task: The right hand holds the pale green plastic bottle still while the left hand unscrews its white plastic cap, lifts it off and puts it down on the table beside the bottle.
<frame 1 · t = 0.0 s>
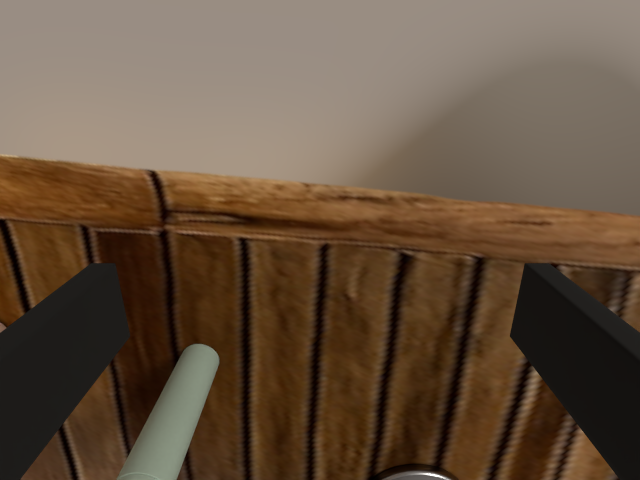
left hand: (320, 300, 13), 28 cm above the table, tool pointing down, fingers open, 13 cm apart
bottle: (200, 359, 48), on the table
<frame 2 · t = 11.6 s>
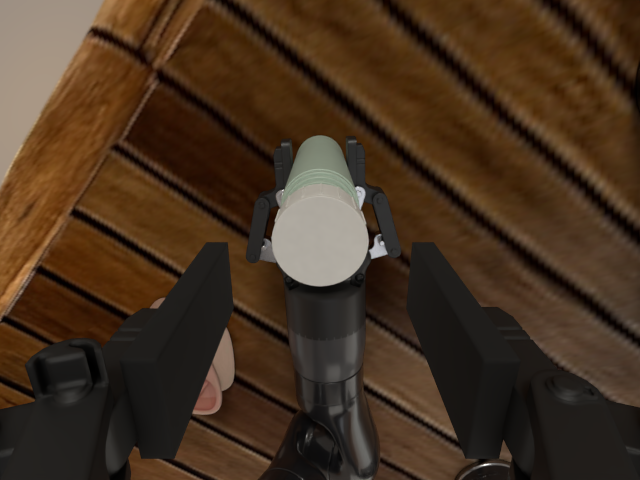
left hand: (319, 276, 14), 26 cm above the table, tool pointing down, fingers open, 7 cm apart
right hand: (318, 139, 32), fingers closed on bottle, 4 cm apart
cap: (320, 241, 18), point 22 cm above the table, screwed on, not yet turned
bottle: (319, 159, 38), on the table, touching right hand
anatomical model: (188, 347, 46), on the table
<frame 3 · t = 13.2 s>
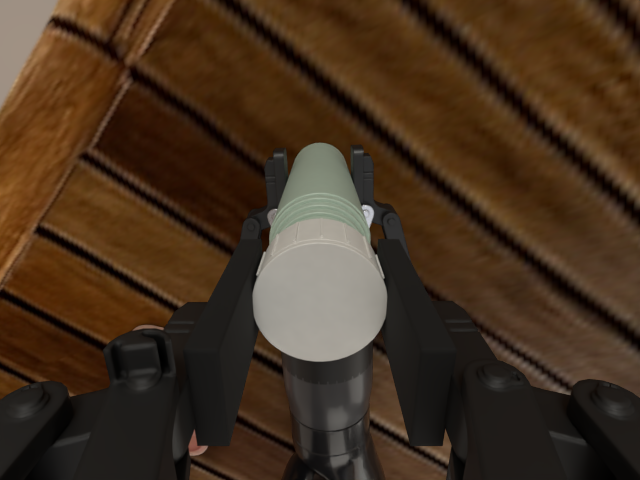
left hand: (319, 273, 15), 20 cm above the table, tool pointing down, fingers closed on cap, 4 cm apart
cap: (319, 301, 13), point 22 cm above the table, screwed on, not yet turned, touching left hand
bottle: (319, 170, 33), on the table, touching right hand
anatomical model: (171, 378, 41), on the table
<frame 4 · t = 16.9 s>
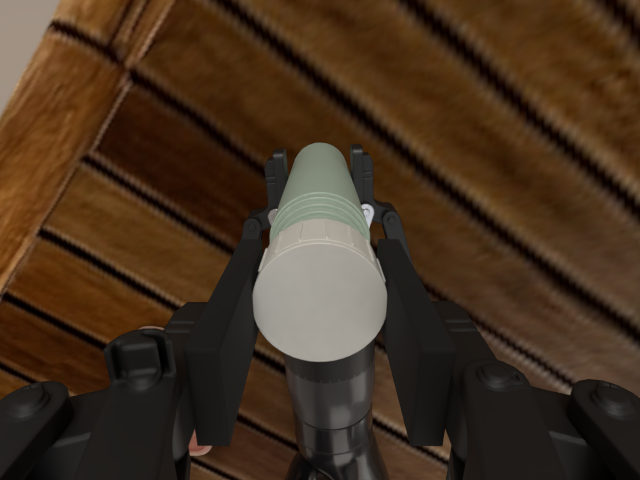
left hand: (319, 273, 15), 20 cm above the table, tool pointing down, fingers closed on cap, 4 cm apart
cap: (319, 301, 13), point 22 cm above the table, turned 130° so far, risen 0.1 cm, still on its thread, touching left hand
bottle: (319, 169, 34), on the table, touching right hand
anatomical model: (175, 379, 42), on the table
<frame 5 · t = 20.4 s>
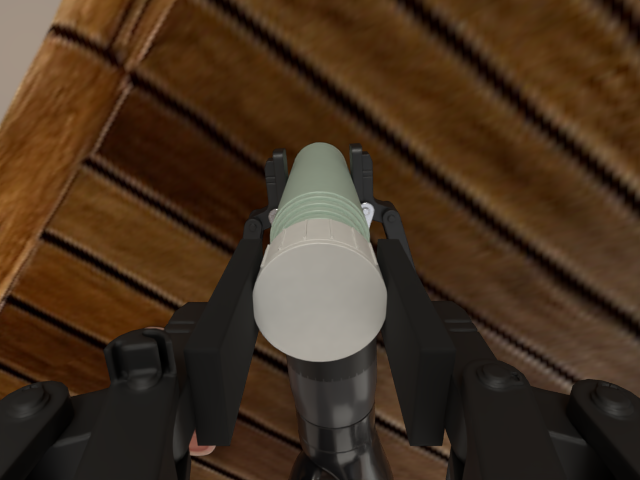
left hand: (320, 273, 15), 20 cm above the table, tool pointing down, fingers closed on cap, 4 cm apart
cap: (319, 301, 13), point 22 cm above the table, turned 260° so far, risen 0.3 cm, still on its thread, touching left hand
bottle: (320, 169, 34), on the table, touching right hand
anatomical model: (178, 379, 42), on the table
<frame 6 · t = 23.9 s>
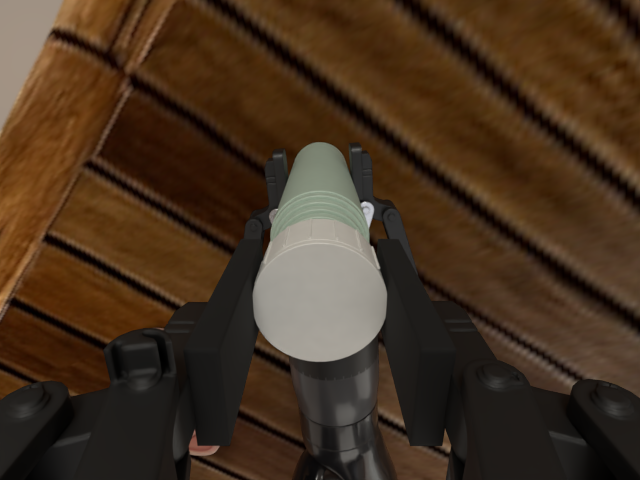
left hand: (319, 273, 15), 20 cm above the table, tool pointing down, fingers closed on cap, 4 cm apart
cap: (319, 301, 13), point 23 cm above the table, turned 390° so far, risen 0.4 cm, still on its thread, touching left hand
bottle: (319, 169, 34), on the table, touching right hand
anatomical model: (181, 380, 42), on the table
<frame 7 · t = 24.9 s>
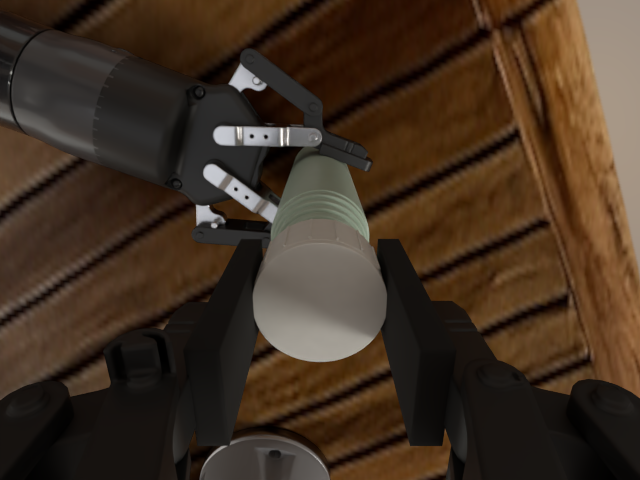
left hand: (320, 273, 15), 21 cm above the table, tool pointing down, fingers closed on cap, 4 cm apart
right hand: (354, 198, 28), fingers closed on bottle, 4 cm apart
cap: (319, 301, 13), point 23 cm above the table, off its thread, touching left hand
bottle: (319, 168, 34), on the table, touching right hand
when the left hand's fingers open (2 cm above the table, at t = 30.4 s): cap drops 2 cm, point 2 cm above the table.
when the right hand's fingers open (6 cm above the table, at t = 31.7 s): bottle stays where it is, on the table.
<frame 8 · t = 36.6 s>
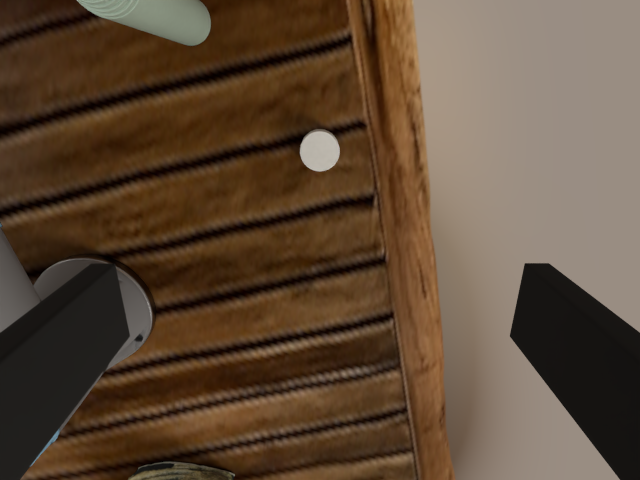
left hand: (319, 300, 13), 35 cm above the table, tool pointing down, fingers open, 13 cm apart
fossil: (191, 477, 64), on the table
cap: (319, 151, 43), point 2 cm above the table, off its thread
bottle: (188, 21, 40), on the table
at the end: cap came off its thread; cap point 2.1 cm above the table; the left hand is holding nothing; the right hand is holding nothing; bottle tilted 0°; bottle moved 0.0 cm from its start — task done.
